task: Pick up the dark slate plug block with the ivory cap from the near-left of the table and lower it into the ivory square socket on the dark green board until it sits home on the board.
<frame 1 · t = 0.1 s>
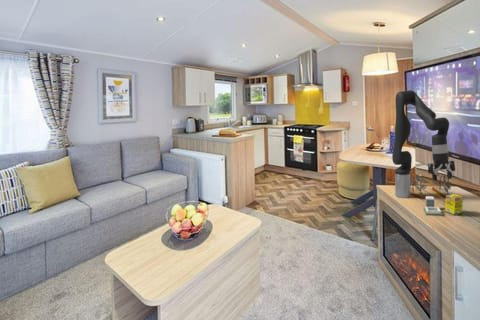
hand: (442, 179, 156), 22 cm above the tv stand, tool pointing down, fingers open, 8 cm apart
socket board: (432, 212, 164), on the tv stand
supplement box: (453, 213, 161), on the tv stand
plug: (429, 208, 170), on the tv stand
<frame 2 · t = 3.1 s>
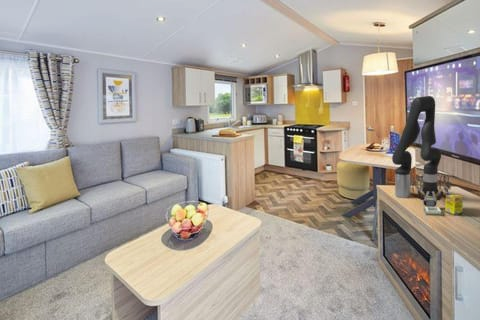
hand: (429, 205, 170), 2 cm above the tv stand, tool pointing down, fingers closed on plug, 4 cm apart
plug: (429, 208, 170), on the tv stand, touching gripper
everything else where it was.
when the fingers open (4 cm above the tv stand, at t = 7.6 s): plug stays where it is, resting on socket board.
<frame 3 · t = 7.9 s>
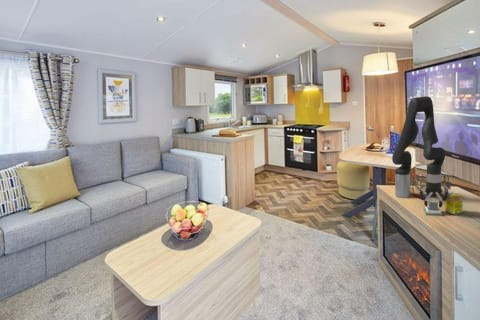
hand: (433, 206, 163), 4 cm above the tv stand, tool pointing down, fingers open, 6 cm apart
plug: (432, 211, 164), point 1 cm above the tv stand, touching socket board
everything else where it was.
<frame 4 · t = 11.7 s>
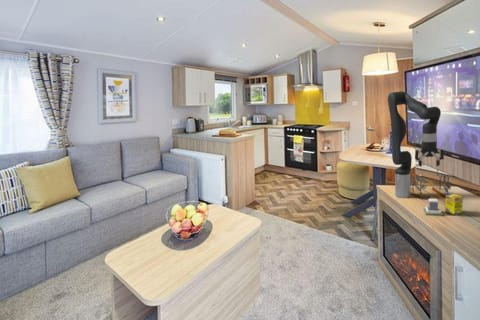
hand: (428, 166, 165), 28 cm above the tv stand, tool pointing down, fingers open, 8 cm apart
nothing on the tv stand moved.
at the end: plug 0.0 cm off-centre on the socket board, point 1.0 cm above the socket board's base; plug tilted 0°; the gripper is holding nothing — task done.
